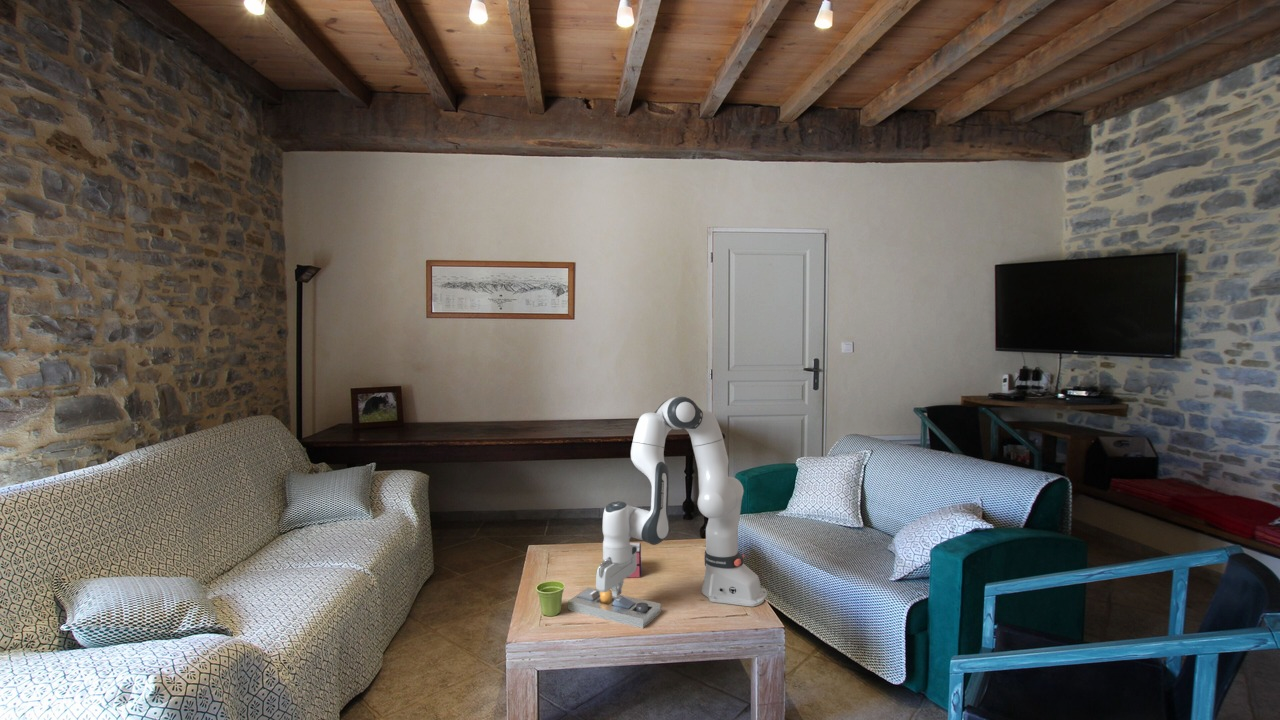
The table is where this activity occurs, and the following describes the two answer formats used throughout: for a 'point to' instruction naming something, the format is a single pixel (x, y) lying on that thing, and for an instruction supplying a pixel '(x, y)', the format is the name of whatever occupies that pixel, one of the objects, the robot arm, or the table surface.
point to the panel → (615, 610)
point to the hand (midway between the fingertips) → (617, 594)
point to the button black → (642, 607)
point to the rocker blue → (623, 603)
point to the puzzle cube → (638, 569)
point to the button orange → (606, 597)
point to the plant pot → (550, 597)
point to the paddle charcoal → (589, 595)
